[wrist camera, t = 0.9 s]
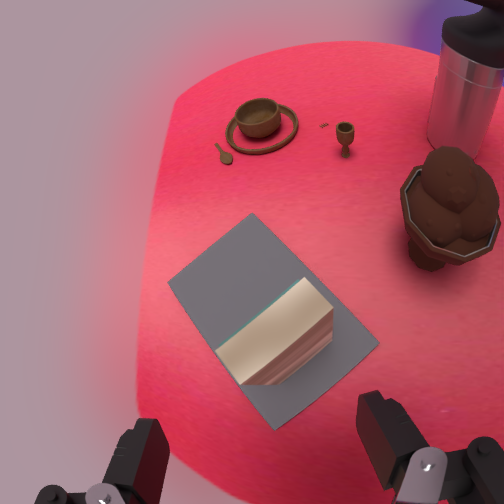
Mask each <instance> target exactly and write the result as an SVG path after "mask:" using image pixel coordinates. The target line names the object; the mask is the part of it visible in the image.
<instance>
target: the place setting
mask: <svg viewBox="0 0 504 504" xmlns="http://www.w3.org/2000/svg"><path fill="white" fill-rule="evenodd" d="M280 113H283V114H285V115H287V116H288V117H289V118H290V119H291V120H292V122H293V125H294V129H293V131H292V133H291V134H290V135H289V136H288V137H287V138H286V139H284V140H283V141H281V142H280V143H278V144H275V145H273V146H270V147H267V148H262V149H244V148H240V147H237V146H236V145H235V143H234V141H233V132H234V129H235V128H236V126H237V125H238V126H239V128H240V130H241V131H242V132H243V133H244V134H245V135H247V136H250V137H255V138H256V137H257V138H263V137H266V136H269V135H270V134H271V133H273V132H274V131H275V130H276V129H277V128H278V127H279V125H280V122H281V115H280ZM325 124H327V123H325ZM325 124H324V125H325ZM324 125H322V126H324ZM327 125H328V124H327ZM327 125H326V126H327ZM319 126H320V125H319ZM322 126H320V127H322ZM324 127H325V126H324ZM322 128H323V127H322ZM297 129H298V118H297V116H296V114H295V112H294V111H293V110H292V109H290V108H288V107H286V106H284V105H280V104H277V103H276V102H275V101H274V100H271V99H268V98H257V99H253V100H250V101H247V102H245V103H244V104H242V105H241V106H240V107H239V108H238V109H237V110H236V112H235V116H234V117H233V118H232V119H231V121H230V122H229V124H228V125H227V128H226V132H225V135H226V139H227V141H228V143H229V144H230V145H231V146H232V147H233V148H234V149H236V150H237V151H240V152H242V153H246V154H264V153H268V152H272V151H275V150H277V149H279V148H281V147H283V146H284V145H286V144H287V143H288V142H289V141H290V140H291V139H292V138H293V137H294V135H295V134H296V132H297ZM336 135H337V140H338V142H339V143H340V144H342V145H343V147H342V151H343V153H342V156H343V157H344V158H348V157H349V156H350V154H349V153H348V152H349V147H348V145H350V144H351V143H352V142H353V140H354V126H353V125H352V124H351V123H349V122H340V123H338V124H337V125H336ZM214 145H215V146H216V147H217V149H218V150H219V151H220V160H221V162H223V163H225V164H230V163H231V162H232V155H231V154H230V153H227V152H224V151H223V150H222V149H221V148H220V146H219V145H218V143H216V144H214Z"/></svg>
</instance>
